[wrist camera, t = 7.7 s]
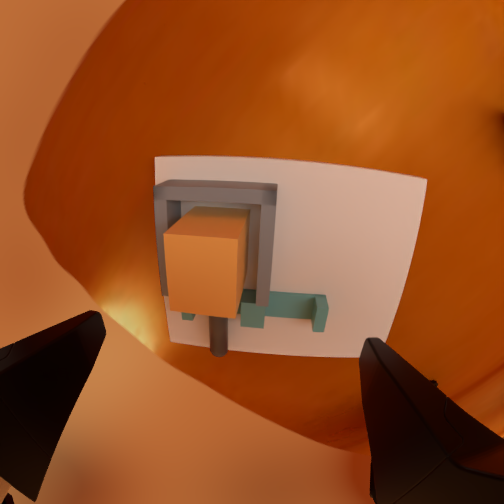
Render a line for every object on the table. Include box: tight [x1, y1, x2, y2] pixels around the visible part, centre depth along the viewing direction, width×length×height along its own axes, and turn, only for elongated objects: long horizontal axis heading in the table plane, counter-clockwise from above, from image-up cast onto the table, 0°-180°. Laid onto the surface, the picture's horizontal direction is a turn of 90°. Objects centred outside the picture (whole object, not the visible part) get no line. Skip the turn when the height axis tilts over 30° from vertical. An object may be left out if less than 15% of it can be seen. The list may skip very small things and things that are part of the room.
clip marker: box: [252, 290, 329, 332], centre depth 20 cm, size 2×5×2 cm, turn 88°
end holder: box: [153, 179, 278, 307], centre depth 18 cm, size 7×7×2 cm
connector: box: [163, 206, 250, 357], centre depth 18 cm, size 11×4×6 cm, turn 177°
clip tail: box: [181, 289, 256, 328], centre depth 20 cm, size 2×5×2 cm, turn 87°
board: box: [155, 155, 427, 357], centre depth 20 cm, size 15×18×1 cm
